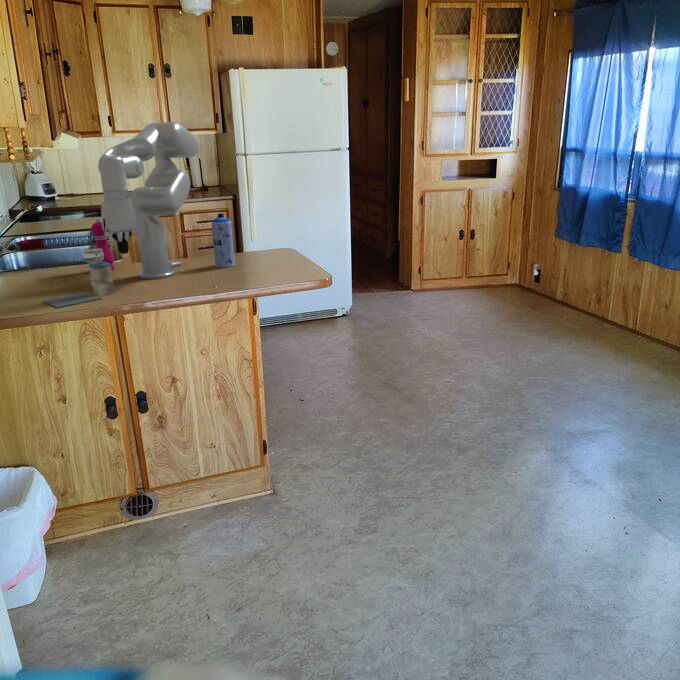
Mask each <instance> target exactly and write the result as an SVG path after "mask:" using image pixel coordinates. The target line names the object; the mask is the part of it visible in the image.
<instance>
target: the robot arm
mask: <svg viewBox="0 0 680 680" xmlns="http://www.w3.org/2000/svg"><path fill="white" fill-rule="evenodd" d="M198 152H199V142H198V140H197V138H196V136H195V135H194V134H193V133H192V132H191V131H189V130H188V129H187V128H186V127H184V126H183V125H181V124H179V123H177V122H174V121H170V122H168V121H164V122H163V121H162V122H151V123H148V124H147V125H146V126H145V127H144V128H142V130H141V131H140V132H138V133H137V134H136V136H134V137H133V138H130V139H128V140H126V141H123V142H121V143H118V144H115V145H114V146H111V147H110V148H109V149H107V150H106V151H105V152H104V153H102V155H101V156H100V157H99V159H98V162H97V163H98V164H97V169H98V172H99V173H100V180H101V186H102V188H101V189H102V195H103V200H102V201H101V207H100V214H101V215H100V216H101V218H100V220H101V222H102V228H103V231H105V236H107V237H108V238H112V239H113V240H115V242H116V246H117V251H118V253H119V254H122V255H123V254H128V253H129V250H130V249H129V242H128V241H129V240H130V237H132V236H133V235H134V234H137V240H138V246H139V253H140V259H141V260H140V261H141V268H142V271H141V272H139V273H138V277H139V278H140V279H143V280H145V279H146V280H147V279H149V280H154V279H163V278H168V277H171V276H174V275H175V270H174V269H175V268H178V267H179V268H180V267H181V266H182V262H181V261H172V260H171V261H170V260H169V254H168V253H169V251H168V244H167V238H166V229H165V228H166V227H165V224H164V222H163V221H162V220H161V218H160V217H159V215H174V214H177V213H179V211H180V210H181V208H182V207H183V205H184V203H185V201H186V199H187V198H188V196H189V194H190V190H191V180H190V177H189V175H188V174H187V173H186V172H185V171H183V170H179V169H178V167H177V165H176V164H175V163H174V161H172V160H171V159H180V158H181V159H182V158H183V159H184V158H185V159H187V158H188V159H189V158H193V157H195V156H197V154H198ZM153 157H154V162H155V166H154V168H153V169H152V170H151V171H150V173H149V175H148V176H147V178H146V180H145V183H144V186H142V187H137V188H135V189H133V190H132V191H129V189H128V182H127V179H128V180H129V179H130V180H131V179H138V178H140V177H141V176H142V175H143V173H144V170H145V165H144V162H147V161H149V160H151V159H152V158H153Z"/></svg>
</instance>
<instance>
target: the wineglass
mask: <svg viewBox="0 0 680 680" xmlns="http://www.w3.org/2000/svg"><path fill="white" fill-rule="evenodd" d="M102 250H103V249H102V248H97V247H94V248H85V249H82V252H83V254H82V255H83V256H82V257H83V260H84V261H85V262H86V263H87V264H88V265H89V264H93V263H99V262H102V260H103V259H104V254H103V252H102ZM90 285H91V286H92V283H91V284H90Z"/></svg>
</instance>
